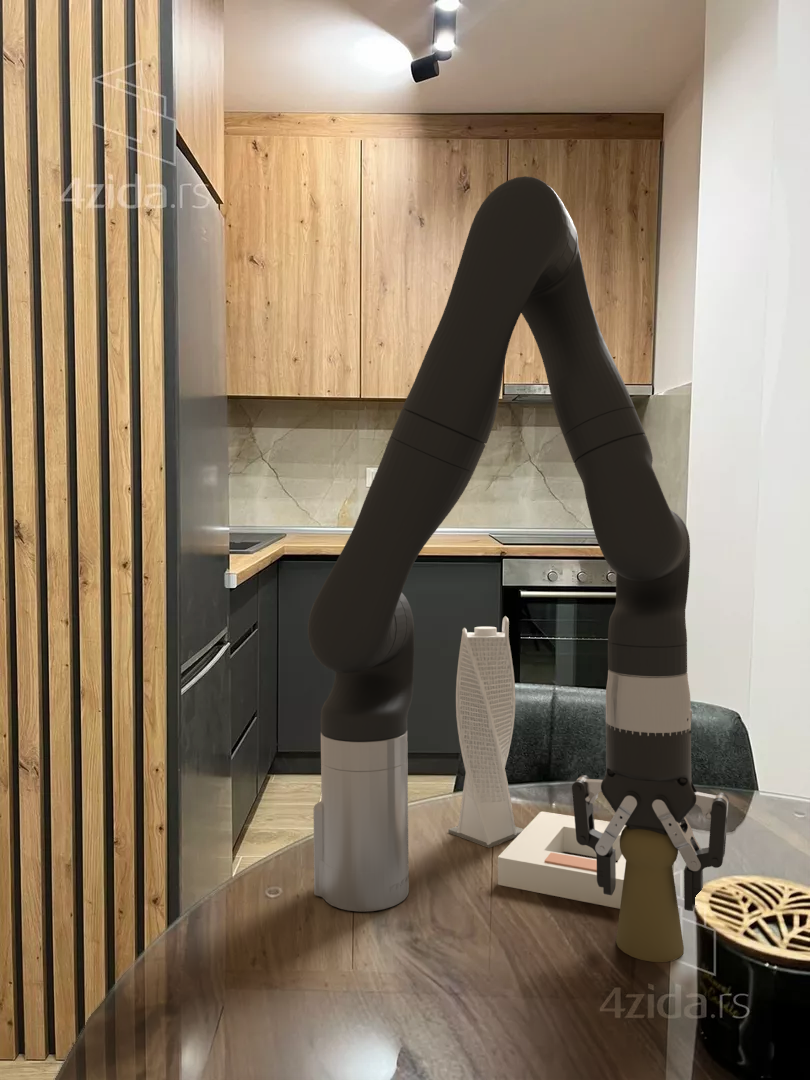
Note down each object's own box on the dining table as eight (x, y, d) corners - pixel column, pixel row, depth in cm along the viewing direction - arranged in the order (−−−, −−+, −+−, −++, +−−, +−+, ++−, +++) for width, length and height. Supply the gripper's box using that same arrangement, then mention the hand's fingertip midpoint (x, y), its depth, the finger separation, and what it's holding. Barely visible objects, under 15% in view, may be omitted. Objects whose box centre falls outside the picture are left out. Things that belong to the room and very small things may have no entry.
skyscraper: (534, 836, 100) (532, 614, 100) (492, 853, 95) (489, 619, 95) (485, 819, 107) (483, 610, 107) (442, 834, 101) (440, 614, 101)
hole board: (497, 884, 87) (497, 855, 87) (541, 834, 101) (541, 809, 101) (649, 914, 79) (649, 882, 79) (673, 856, 94) (672, 829, 94)
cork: (688, 965, 70) (687, 840, 70) (617, 958, 71) (616, 835, 71) (679, 931, 76) (678, 816, 76) (613, 926, 77) (612, 812, 77)
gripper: (560, 720, 73) (561, 901, 73) (727, 737, 67) (729, 934, 67) (580, 705, 80) (582, 870, 80) (734, 718, 74) (736, 898, 74)
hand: (649, 898), depth 74 cm, fingers open, 6 cm apart
